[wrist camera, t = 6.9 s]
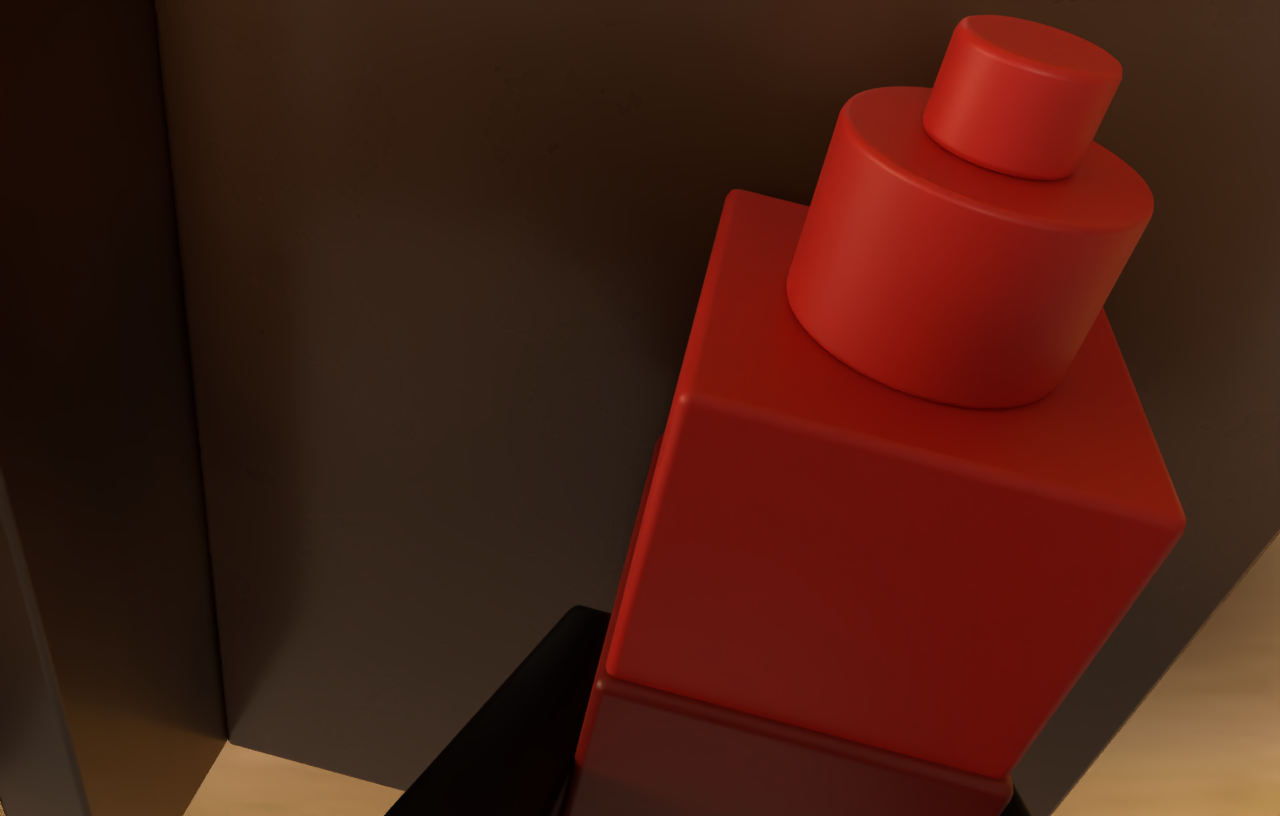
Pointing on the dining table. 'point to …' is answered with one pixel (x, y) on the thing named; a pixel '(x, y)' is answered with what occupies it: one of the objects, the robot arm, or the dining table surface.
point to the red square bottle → (892, 464)
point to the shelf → (489, 345)
